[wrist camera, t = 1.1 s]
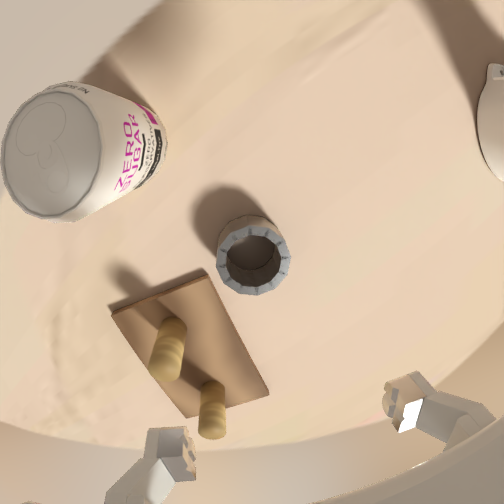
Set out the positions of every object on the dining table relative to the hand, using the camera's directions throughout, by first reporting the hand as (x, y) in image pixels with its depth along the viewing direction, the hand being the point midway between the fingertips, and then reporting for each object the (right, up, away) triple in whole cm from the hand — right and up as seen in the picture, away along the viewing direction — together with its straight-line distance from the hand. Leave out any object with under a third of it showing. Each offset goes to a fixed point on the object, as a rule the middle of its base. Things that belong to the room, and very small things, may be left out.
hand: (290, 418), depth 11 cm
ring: (-2, +7, +20) cm, 22 cm away
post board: (-8, -6, +24) cm, 26 cm away
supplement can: (-13, +17, +16) cm, 27 cm away
